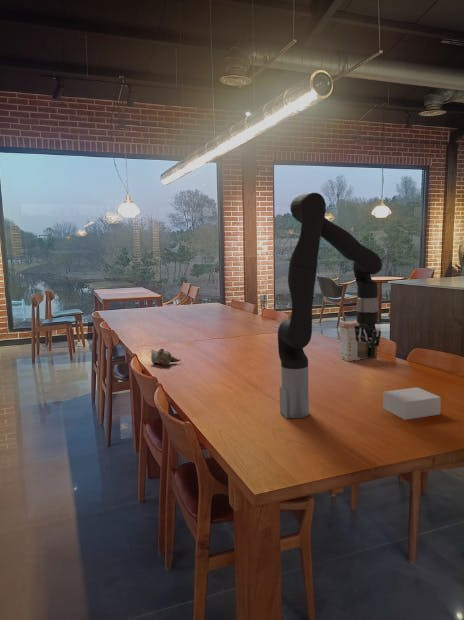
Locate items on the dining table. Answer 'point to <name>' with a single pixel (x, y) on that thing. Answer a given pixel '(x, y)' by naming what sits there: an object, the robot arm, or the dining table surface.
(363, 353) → the walnut block
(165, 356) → the ceramic sculpture
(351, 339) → the coffeecake box
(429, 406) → the block
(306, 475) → the dining table surface
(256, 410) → the dining table surface
